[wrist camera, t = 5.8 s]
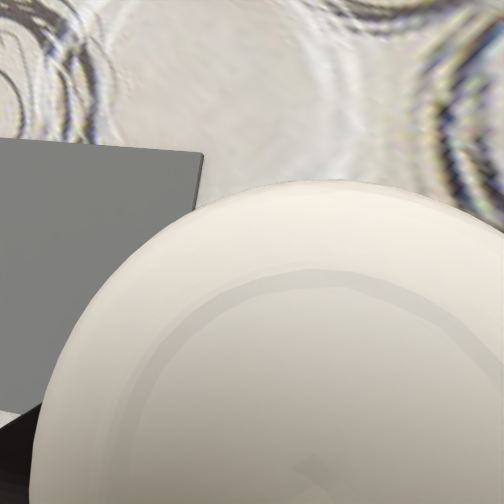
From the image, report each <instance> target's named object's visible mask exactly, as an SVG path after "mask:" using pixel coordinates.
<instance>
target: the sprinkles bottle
mask: <svg viewBox="0 0 504 504" xmlns="http://www.w3.org/2000/svg"><path fill="white" fill-rule="evenodd" d="M29 504H504V234H503V233H501V232H499V231H498V230H496V229H494V228H493V227H491V226H489V225H487V224H486V223H484V222H482V221H480V220H479V219H477V218H475V217H473V216H472V215H470V214H467V213H465V212H463V211H461V210H458V209H456V208H454V207H452V206H449V205H447V204H444V203H442V202H439V201H436V200H434V199H431V198H428V197H426V196H423V195H420V194H417V193H413V192H410V191H406V190H403V189H400V188H396V187H393V186H383V185H378V184H374V183H369V182H364V181H348V180H343V179H331V180H302V181H289V182H283V183H276V184H269V185H264V186H260V187H256V188H253V189H249V190H246V191H242V192H239V193H235V194H232V195H228V196H226V197H223V198H221V199H219V200H216V201H214V202H211V203H209V204H206V205H204V206H202V207H200V208H198V209H196V210H194V211H192V212H190V213H188V214H186V215H184V216H183V217H181V218H180V219H178V220H176V221H175V222H173V223H171V224H170V225H168V226H167V227H165V228H164V229H163V230H161V231H160V232H159V233H157V234H156V235H154V236H153V237H152V238H151V239H150V240H148V241H147V242H146V243H145V244H144V245H142V246H141V247H140V248H139V249H138V250H136V251H135V252H134V253H133V254H132V255H131V256H130V257H129V258H128V259H127V260H126V261H125V262H124V263H123V264H122V265H121V266H120V267H119V268H118V269H117V270H116V271H115V272H114V273H113V274H112V275H111V276H110V277H109V278H108V280H107V281H106V282H105V283H104V284H103V286H102V287H101V288H100V289H99V291H98V292H97V293H96V294H95V296H94V297H93V298H92V300H91V301H90V303H89V304H88V306H87V307H86V309H85V310H84V312H83V314H82V315H81V317H80V318H79V320H78V321H77V323H76V324H75V326H74V328H73V330H72V332H71V334H70V336H69V338H68V340H67V342H66V344H65V346H64V348H63V350H62V352H61V354H60V356H59V358H58V360H57V363H56V366H55V368H54V371H53V373H52V376H51V379H50V381H49V384H48V386H47V389H46V392H45V396H44V399H43V403H42V406H41V410H40V414H39V418H38V423H37V428H36V433H35V438H34V443H33V453H32V464H31V474H30V485H29Z"/></svg>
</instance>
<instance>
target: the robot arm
mask: <svg viewBox="0 0 504 504" xmlns="http://www.w3.org/2000/svg"><path fill="white" fill-rule="evenodd" d="M42 403H43V402H41V403H40V404H38V405H37V406H35V407H34V408H32V409H30V410H29V411H27V412H26V413H24V414H22V415H21V416H19V417H18V418H16V419H14V420H13V421H11V422H10V423H8V424H6V425H5V426H3V427H2V428H0V504H29V485H30V474H31V464H32V453H33V443H34V438H35V433H36V428H37V423H38V418H39V414H40V410H41V406H42Z"/></svg>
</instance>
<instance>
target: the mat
mask: <svg viewBox="0 0 504 504" xmlns="http://www.w3.org/2000/svg"><path fill="white" fill-rule="evenodd" d="M203 157H204V156H203V154H202V153H200V152H186V151H173V150H159V149H146V148H132V147H119V146H106V145H92V144H79V143H65V142H52V141H39V140H25V139H12V138H0V410H2V411H7V412H12V413H16V414H21V415H22V414H24V413H26V412H27V411H29V410H30V409H32V408H34V407H35V406H37V405H38V404H40V403H41V402H43V399H44V396H45V392H46V389H47V386H48V384H49V381H50V379H51V376H52V373H53V371H54V368H55V366H56V363H57V360H58V358H59V356H60V354H61V352H62V350H63V348H64V346H65V344H66V342H67V340H68V338H69V336H70V334H71V332H72V330H73V328H74V326H75V324H76V323H77V321H78V320H79V318H80V317H81V315H82V314H83V312H84V310H85V309H86V307H87V306H88V304H89V303H90V301H91V300H92V298H93V297H94V296H95V294H96V293H97V292H98V291H99V289H100V288H101V287H102V286H103V284H104V283H105V282H106V281H107V280H108V278H109V277H110V276H111V275H112V274H113V273H114V272H115V271H116V270H117V269H118V268H119V267H120V266H121V265H122V264H123V263H124V262H125V261H126V260H127V259H128V258H129V257H130V256H131V255H132V254H133V253H134V252H135V251H136V250H138V249H139V248H140V247H141V246H142V245H144V244H145V243H146V242H147V241H148V240H150V239H151V238H152V237H153V236H154V235H156V234H157V233H159V232H160V231H161V230H163V229H164V228H165V227H167V226H168V225H170V224H171V223H173V222H175V221H176V220H178V219H180V218H181V217H183V216H184V215H186V214H188V213H190V212H192V211H194V210H195V204H196V198H197V192H198V187H199V181H200V175H201V169H202V163H203Z"/></svg>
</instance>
